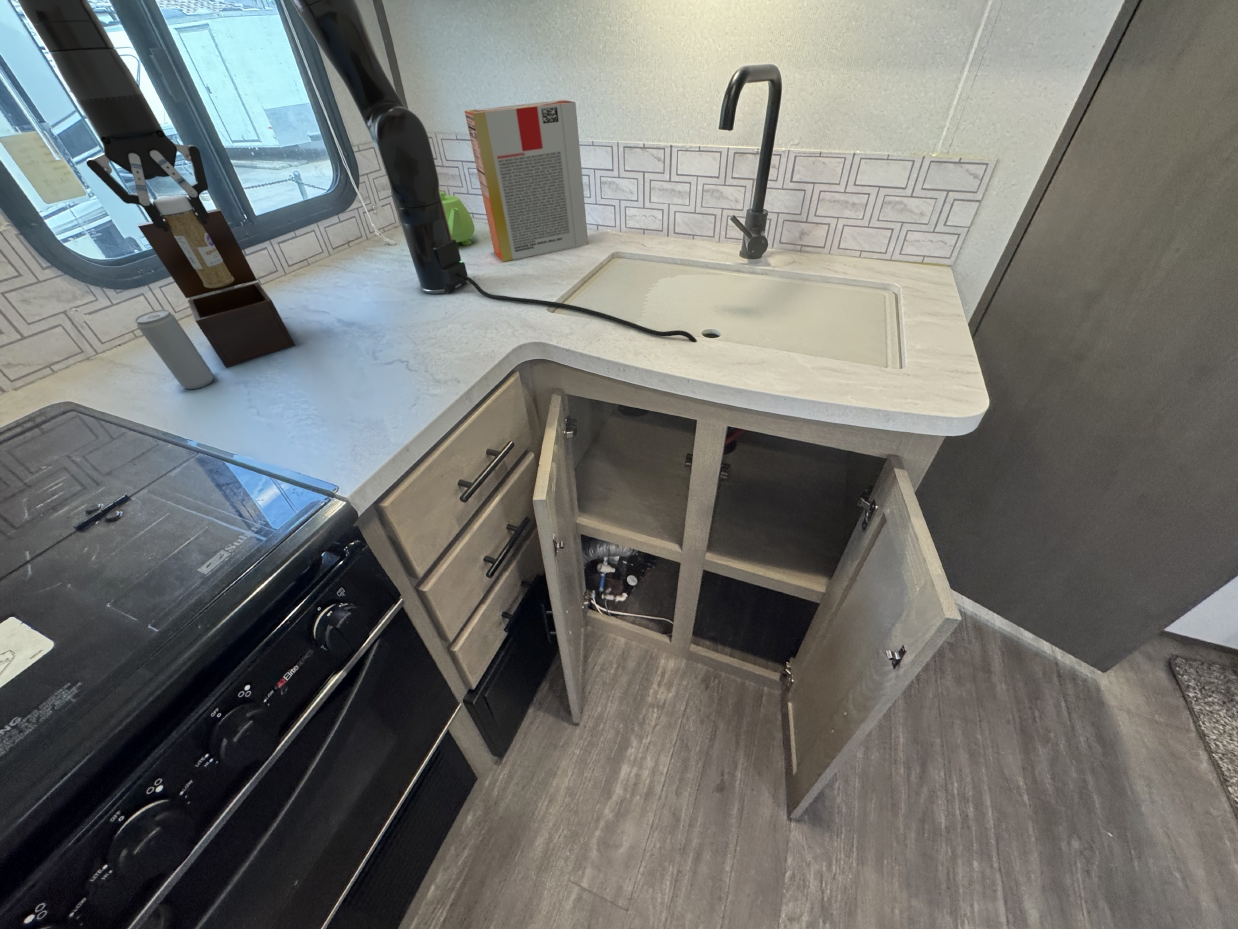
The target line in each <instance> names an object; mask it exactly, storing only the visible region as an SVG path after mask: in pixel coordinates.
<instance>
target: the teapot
mask: <svg viewBox="0 0 1238 929" xmlns="http://www.w3.org/2000/svg"><path fill="white" fill-rule="evenodd" d="M440 195H441V199H442V202H443V206H444V210H445V214H446V218H447V222H448V225H449V229H450V233H451V237H452V239H455V240H456V242H457V243H461V244H462V246H469V245H471V244H472V241H471V240H470V239H472V238H473V236H474V234H475V229H476V228H475V224H474V221H473V218H472V215H471V213H470V212H469V210H468V208H467V207H466V206H465V204H464V203H463V202H462V200H461V199H460V198H459V197H458V196H455V195H451V194H449V195H448V194H447V195H446V192H445V191H443V190H442V191H440Z"/></svg>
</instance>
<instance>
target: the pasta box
mask: <svg viewBox="0 0 1238 929" xmlns="http://www.w3.org/2000/svg"><path fill="white" fill-rule="evenodd" d="M576 103H577V102H576V101H571V100H565V99H558V100H548V101H539V102H532V103H522V104H513V105H503V106H494V107H486V108H485V107H484V108H478V109H477V108H475V109H467V110H464V115H465V120H466V124H467V131H468V134H469V135H468V136H469V139H470V144H471V148H472V153H473V158H474V163H475V168H476V173H477V177H478V182H479V187H480V190H481V196H482V201H483V205H484V210H485V215H486V219H487V225H488V229H489V234H490V239H491V244H492V247H493V253H494V254H495V255H496V257H497V258H498V259H499V260H500V261H501V262H502V263H504V262H509V261H514V260H519V259H523V258H528V257H533V256H538V255H543V254H544V255H545V254H548V253H553V252H557V251H564V250H567V249H568V250H569V249H573V248H578V247H583V246H587V245H589V236H588V225H587V214H586V205H585V204H586V203H585V190H584V183H583V182H584V181H583V180H584V179H583V170H582V161H581V160H582V158H581V148H580V138H579V136H580V135H579V127H578V126H579V124H578V115H577V114H578V113H577V104H576Z"/></svg>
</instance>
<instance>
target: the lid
mask: <svg viewBox="0 0 1238 929" xmlns="http://www.w3.org/2000/svg"><path fill="white" fill-rule="evenodd" d="M193 210H194V211H195V209H194V208H193ZM206 211H207V212H208V214H209V219H206V220H207V222H208V223H207V224H203V223H202V222H201V220H200V218H199V216H198V215H197V213H196V211H195V214H196V215H197V217H198V219H199V220H200V222H201V224H202V226H203V227H204V229H205V231H206V232H207V234H208V235H209V237H210V239H211V240H212V242H213V244H214V246H215V247H216V249H217V251H218V253H219V254H220V256H221V258H222V259H223V262H224V264H225V266H226V267H227V269H228V271H229V272H230V274H231V276H232V277H233V278H234V281H233V282H232V283H230V284H228V285H226V286H223V287H219V288H207V287H205V286H204V284H203V281H202V279H201V278H200V276H199V275H198V273H197V271H196V270H195V268H193V266H192V264H191V263H190V261H189V260H188V258H187V256H186V255H185V253H184V251H183V250H182V248H181V247H180V245H179V243H178V242H177V240H176V238H175V237H174V234H173V233H172V231H171V229H170V228H169V226H168V224H167V223H166V221H165V219H164V218H163V217H162V215H161V214H160V215H161V217H162V218H163V220H164V222H165V223H166V225H167V226H168V228H169V230H170V231H167V232H164V230H163V229H162V228H159V229H158V228H157V227H156V226H155V225H154V224H153V222H152V221H151V220H150V221H146V222H140V223H136V226H137V228H138V229H139V231H140V232H141V234H142V235H143V237H144V238H145V239H146V241H147V242H148V244H149V245H150V247H151V249H152V250H153V251H154V253H155V255H156V256H157V257H158V258H159V260H160V261H161V263H162V264H163V267H164V268H165V269H166V272H168V274H169V275H170V277H171V278H172V280H173V282H174V283H175V285H177V287H178V289H179V291H180V292H181V293H182V294H183V296H184V298H185V299H189V298H190V297H194V296H198V295H202V294H206V293H209V292H213V291H217V290H221V289H225V288H229V287H233V286H235V287H238V286H242V285H246V284H250V283H254V282H258V280H257V277H256V276H255V273H254V272H253V269H252V267H251V266H250V264H249V262H248V260H247V258H246V256H245V254H244V252H243V251H242V248H241V246H240V245H239V242H238V240H237V239H236V237H235V235H234V233H233V231H232V228H231V227H230V225H229V223H228V221H227V220H226V217H225V215H224V214H223V212H222V210H221V208H215V209H209V210H206Z"/></svg>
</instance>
